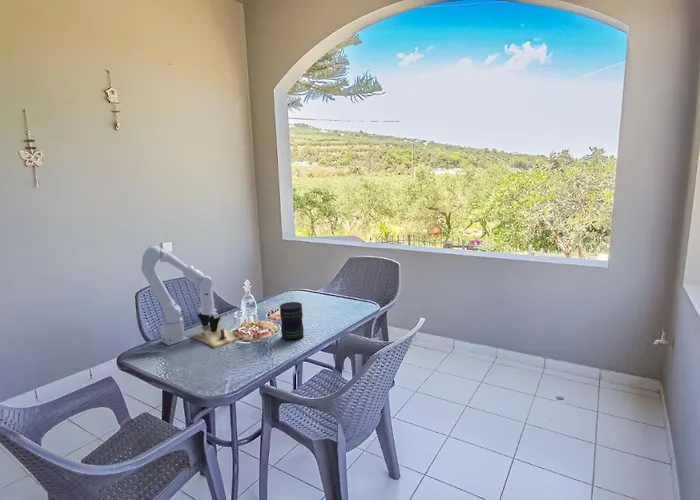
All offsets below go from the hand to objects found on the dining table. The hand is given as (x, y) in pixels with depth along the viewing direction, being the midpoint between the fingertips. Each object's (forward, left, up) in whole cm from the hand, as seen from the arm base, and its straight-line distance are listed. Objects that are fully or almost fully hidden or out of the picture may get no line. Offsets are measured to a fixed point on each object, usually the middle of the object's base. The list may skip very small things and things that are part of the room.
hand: (210, 329), depth 201 cm
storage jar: (+22, -33, -3) cm, 40 cm away
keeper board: (0, -6, -2) cm, 6 cm away
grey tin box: (0, 0, -1) cm, 1 cm away
